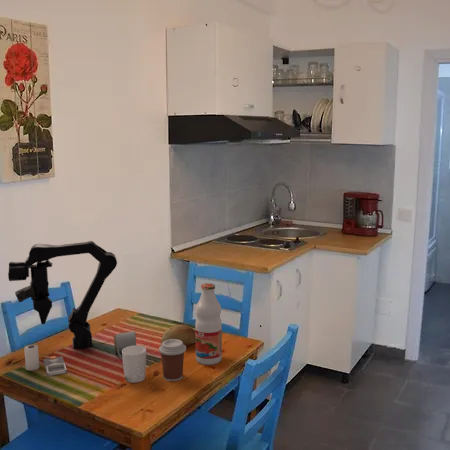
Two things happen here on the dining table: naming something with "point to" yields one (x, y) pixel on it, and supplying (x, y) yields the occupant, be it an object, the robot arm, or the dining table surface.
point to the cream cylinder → (31, 357)
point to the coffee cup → (172, 359)
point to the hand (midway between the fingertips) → (42, 320)
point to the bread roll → (180, 334)
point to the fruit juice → (208, 327)
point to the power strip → (55, 366)
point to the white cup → (134, 363)
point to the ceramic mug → (124, 341)
